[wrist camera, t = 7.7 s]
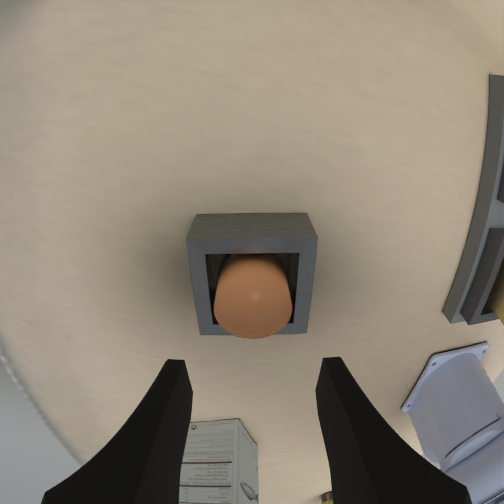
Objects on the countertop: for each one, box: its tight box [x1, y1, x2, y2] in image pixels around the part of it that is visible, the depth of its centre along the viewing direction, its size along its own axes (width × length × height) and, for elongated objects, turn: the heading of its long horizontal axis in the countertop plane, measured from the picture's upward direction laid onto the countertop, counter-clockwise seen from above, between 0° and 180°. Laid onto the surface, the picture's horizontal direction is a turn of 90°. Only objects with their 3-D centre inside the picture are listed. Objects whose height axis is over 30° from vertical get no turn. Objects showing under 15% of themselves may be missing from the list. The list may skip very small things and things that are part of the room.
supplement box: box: [179, 419, 259, 504], centre depth 23 cm, size 7×7×13 cm
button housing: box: [186, 213, 318, 335], centre depth 16 cm, size 6×6×3 cm
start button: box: [214, 253, 292, 339], centre depth 15 cm, size 4×4×3 cm
